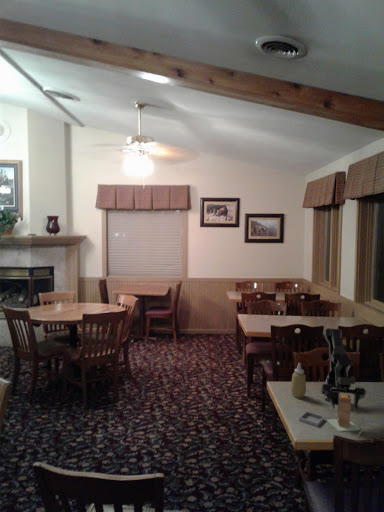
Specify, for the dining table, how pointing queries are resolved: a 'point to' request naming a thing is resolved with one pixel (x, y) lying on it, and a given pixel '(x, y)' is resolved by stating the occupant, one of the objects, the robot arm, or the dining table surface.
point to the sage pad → (341, 428)
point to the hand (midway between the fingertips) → (344, 409)
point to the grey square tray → (311, 418)
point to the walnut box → (344, 410)
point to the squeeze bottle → (298, 383)
